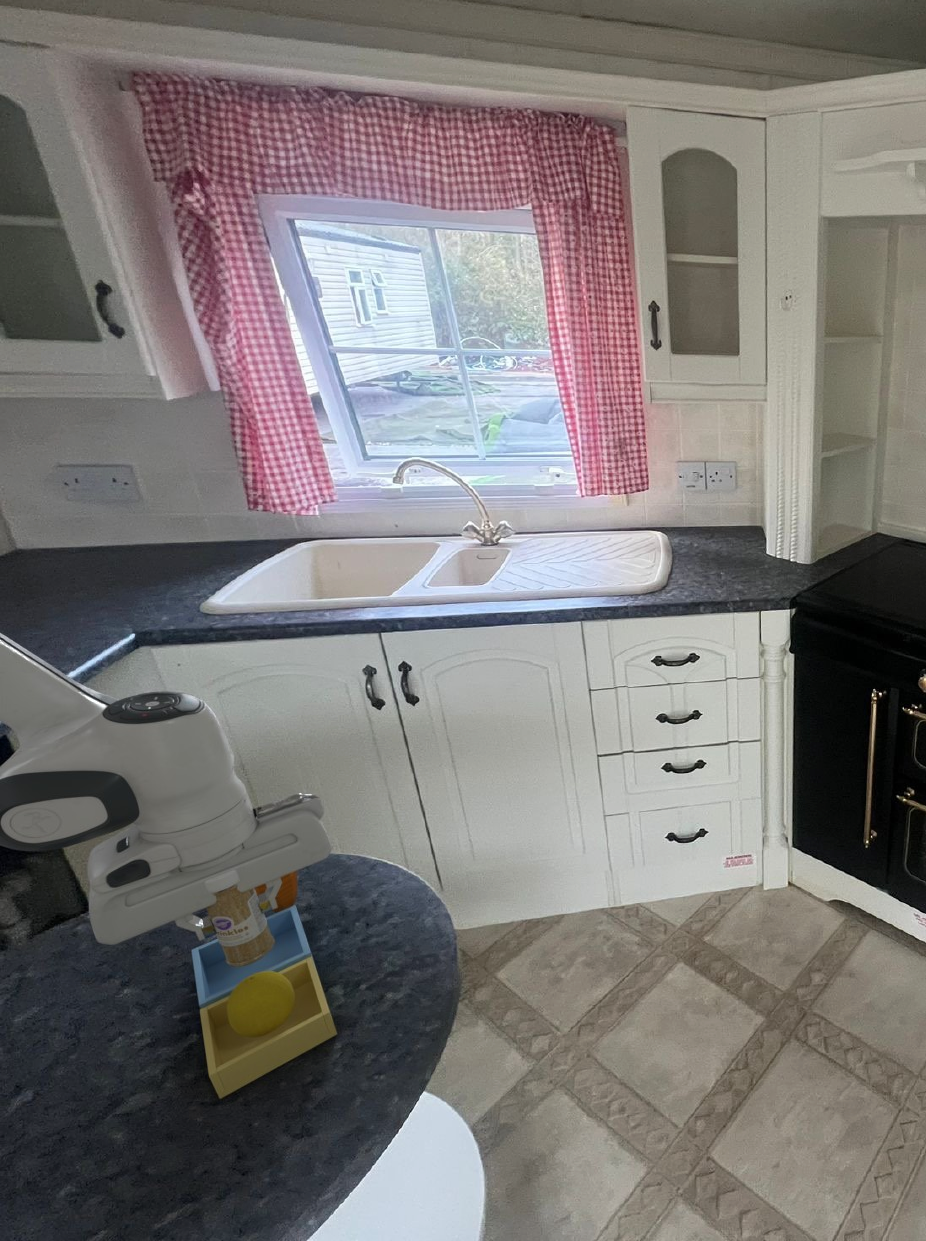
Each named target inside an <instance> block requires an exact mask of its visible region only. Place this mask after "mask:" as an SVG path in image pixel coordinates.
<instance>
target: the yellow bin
mask: <svg viewBox="0 0 926 1241" xmlns="http://www.w3.org/2000/svg"><path fill="white" fill-rule="evenodd" d="M312 957H313V956H312ZM312 957H309V958H307V959H306V960H303V961H301V962H299V963H296V964H294V965H292V966H290V967H288V968H286V969H284V970H282V971H280V972H278V973H280V974H282V975H283V976H284V977H286V978H287V979H288V980H289V981H290V983H291V985H292V987H293V990H294V993H295V1002H294V1007H293V1009H292V1012H291V1014H290V1015H289V1017H288V1018H287V1020H286V1021H285V1022H284V1023H283V1024H282V1025H281V1026H280V1027H278V1028H277V1029H276V1030H274V1031H272V1032H271V1033H268V1034H266V1035H263V1036H259V1037H246V1036H243V1035H241V1034H239V1033H237V1032H236V1031H235V1030H234V1029H233V1028H232V1026H231V1025H230V1023H229V1021H228V1017H227V1003H228V1000H229V997H230V996H228V997H225V998H223V999H221V1000H219V1001H217V1002H215V1003H213V1004H211V1005H209V1006H207V1007H205V1008H202V1009H200V1008H199V1015H200V1022H201V1029H202V1036H203V1043H204V1050H205V1051H204V1052H205V1057H206V1058H205V1059H206V1064H207V1072H208V1077H209V1079H210V1082H211V1083H212V1085H213V1088H214V1090H215V1093H216V1094H217V1096H218V1099H220V1100H221V1099H224V1098H225V1097H226V1096H228V1095H230V1094H232V1093H234V1092H236V1091H237V1090H239V1089H241V1088H243V1087H244V1086H246V1085H249V1084H250V1083H252V1082H254V1081H255V1080H257V1079H259V1078H261V1077H262V1076H264V1075H266V1074H268V1073H270V1072H271V1071H273V1070H275V1069H278V1067H281V1066H283V1065H284V1064H286V1063H288V1062H290V1061H292V1060H293V1059H295V1058H297V1057H298V1056H300V1055H303V1054H304V1053H306V1052H308V1051H310V1050H312V1049H313V1048H315V1047H317V1046H319V1045H320V1044H322V1043H324V1042H326V1041H328V1040H330V1039H331V1038H333V1037H335V1036H337V1035H338V1032H337V1028H336V1026H335V1023H334V1020H333V1017H332V1013H331V1010H330V1007H329V1004H328V1001H327V998H326V994H325V991H324V988H323V985H322V983H321V982H322V981H321V979H320V976H319V972H318V970H316V969H317V966H316V964H314V963H315V961H314V962H313V960H314V958H313V959H312ZM315 966H316V967H315ZM317 972H318V973H317Z"/></svg>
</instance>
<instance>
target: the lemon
mask: <svg viewBox="0 0 926 1241" xmlns="http://www.w3.org/2000/svg"><path fill="white" fill-rule="evenodd" d="M294 1002H295V993H294V990H293V987H292V985H291V983H290V981H289V980H288V979H287V978H286V977H284V976H283V975H282V974H280V973H278V972H274V971H262V972H258V973H255V974H253V975H250V976H249V977H247V978H245V979H244V980H243V981H241V982H240V983H239V984H238V985H237V986H236V987H235V988H234V990H233V991H232V993H231V995H230V997H229V1000H228V1003H227V1017H228V1021H229V1023H230V1025H231V1026H232V1028H233V1029H234V1030H235V1031H236V1032H237V1033H239V1034H241V1035H243V1036H246V1037H259V1036H263V1035H266V1034H268V1033H271V1032H272V1031H274V1030H276V1029H277V1028H278V1027H280V1026H281V1025H282V1024H283V1023H284V1022H285V1021H286V1020H287V1018H288V1017H289V1015H290V1014H291V1012H292V1009H293V1007H294Z"/></svg>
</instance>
